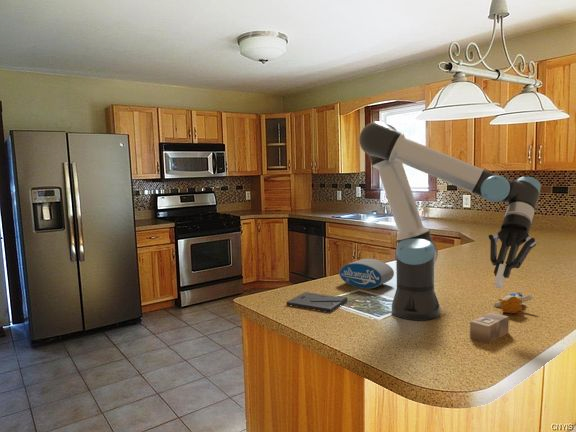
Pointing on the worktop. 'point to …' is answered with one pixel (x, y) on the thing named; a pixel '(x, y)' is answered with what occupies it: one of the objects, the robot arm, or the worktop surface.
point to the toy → (512, 302)
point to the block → (489, 327)
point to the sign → (366, 273)
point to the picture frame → (317, 301)
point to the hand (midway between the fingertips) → (498, 285)
